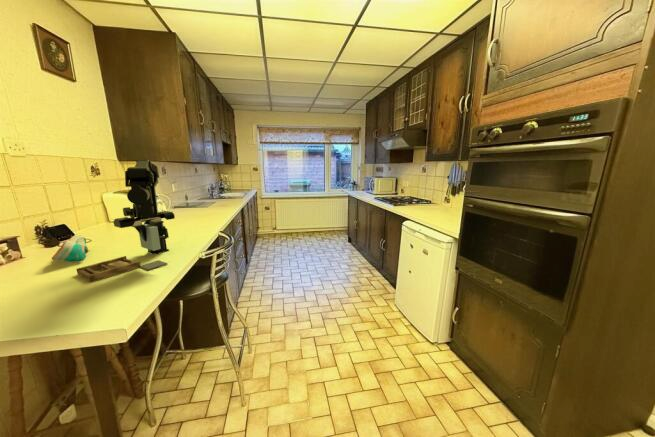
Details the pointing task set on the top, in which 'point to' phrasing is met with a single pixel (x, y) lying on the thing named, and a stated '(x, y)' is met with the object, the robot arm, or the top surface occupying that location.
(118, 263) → the offcut stack
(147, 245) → the grey square block
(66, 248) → the athletic shoe
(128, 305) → the top surface
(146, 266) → the rubber mat
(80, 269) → the rack
